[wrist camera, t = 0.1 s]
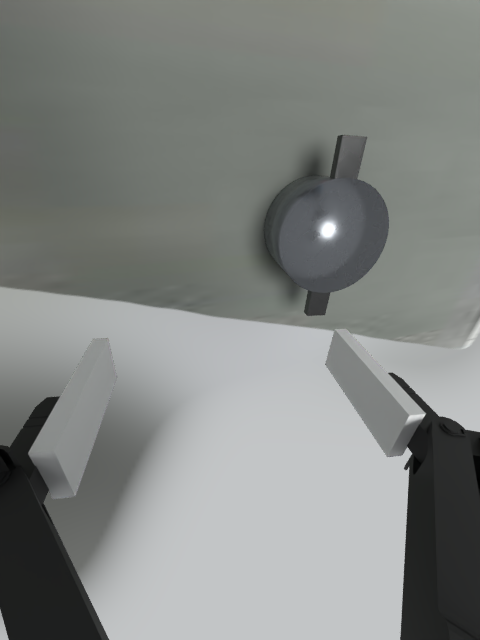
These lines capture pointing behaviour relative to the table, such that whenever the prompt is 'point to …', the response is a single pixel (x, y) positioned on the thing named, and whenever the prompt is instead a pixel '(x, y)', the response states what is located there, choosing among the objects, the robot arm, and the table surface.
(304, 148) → the table surface
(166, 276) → the table surface
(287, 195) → the pot
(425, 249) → the table surface
